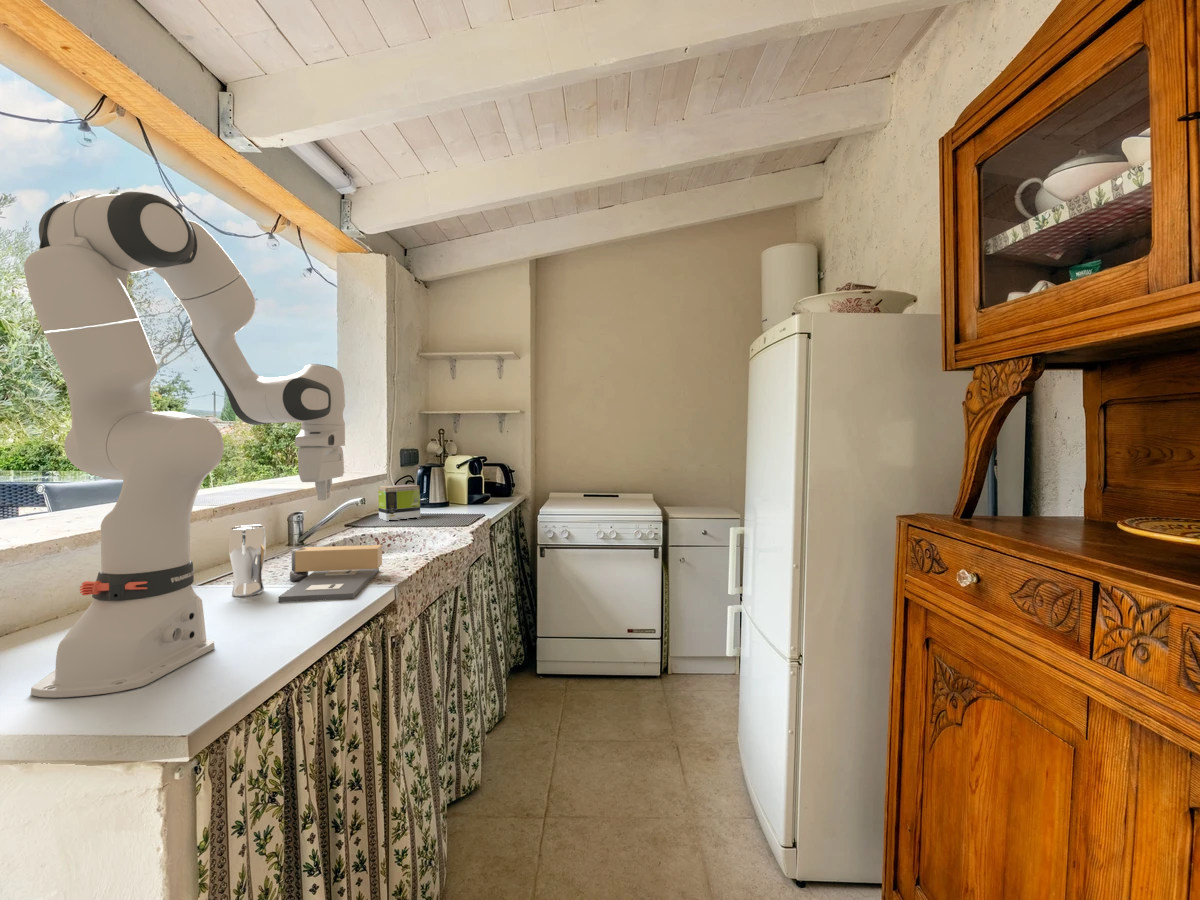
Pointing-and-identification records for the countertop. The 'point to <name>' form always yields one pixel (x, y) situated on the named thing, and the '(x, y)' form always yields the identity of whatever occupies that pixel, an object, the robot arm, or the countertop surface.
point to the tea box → (399, 502)
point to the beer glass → (247, 559)
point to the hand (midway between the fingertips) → (323, 499)
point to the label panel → (329, 585)
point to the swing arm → (336, 558)
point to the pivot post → (298, 576)
